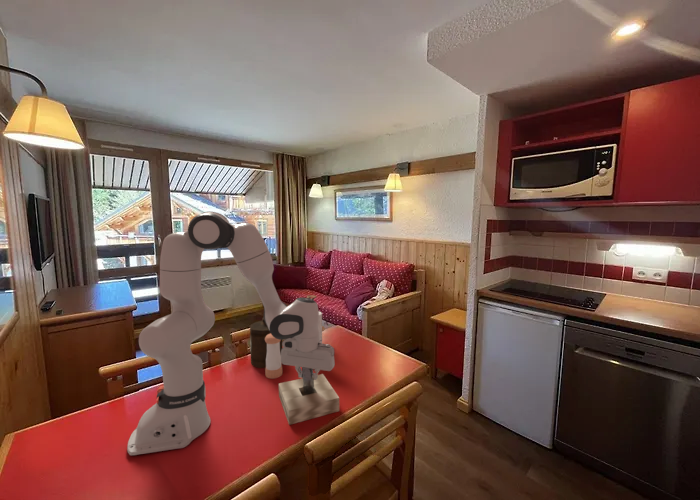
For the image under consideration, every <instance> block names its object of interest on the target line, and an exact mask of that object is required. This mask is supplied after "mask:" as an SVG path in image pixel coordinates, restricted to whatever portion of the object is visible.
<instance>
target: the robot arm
mask: <svg viewBox="0 0 700 500" xmlns="http://www.w3.org/2000/svg"><path fill="white" fill-rule="evenodd" d="M216 249H228V250H229V251H230V253H231V255H232V257H233V259H234V262H235V264H236V266H237V267H238V269H239V272H240V273H241V274H242V275H243V277H244V279H245V280H246V281H248V282H249V283H250V284H252V286H253V287H254V288H255V289H256V292H257V294H258V297H259V299H260V300H261V303H262V305H263V317H264V321H265V323H266V325H267V326H268V328H269V330H270V333H271V334H272V336H273V337H275V338H276V339H280V340H282V347H283V348H282V350H281V365H285V366H291V367H292V366H293V367H294V369H295V371H296V372H297V375H298V376H297V377H298V378H299V379H302V378H303V376H302V367H305V368H311V369H313V370H314V372H313V375H312V379H313V380H316V379H317V377H318V375H319V372H321V371H325V372H326V371H327V372H331V371H332V370H333V369H334V368H335V365H336V364H335V347H333V346H332V344H329V343H323V342H322V343H319V330H318V324H319V312H320V310H319V305H318V303H317V301H316V300H315V299H314V300H313V299H311V298H307V297H303V296H302V297H297V298H296V299H295V300H294V301H293V302H292V303H290V304H289V305H287V304H286V303H284V302H283V301H282V300H281V298H280V296H279V294H278V292H277V289H276V287H275V284H274V281H273V273H274V271H275V268H274V262H273V258H272V255H271V252H270V250H269V247H268V246H267V244H266V242H265V239H264V237H263V236H262V234H261V233H260V232H259V230H258V228H257V227H256V226H255V225H254V224H252V223H249V222H242V223H238V224H231V223H230V222H229V220H228V218H227V217H226V216H224V215H223V214H221V213H219V212H215V211H205V212H201V213H199V214H197V215H195V216H193V218H191V220H190V222H189V223H188V226H187V231H177V232H173V233H169V234H167V236H166V237H164V239H163V242H162V245H161V250H160V251H161V252H160V259H159V292H160V295H161V296H162V298H164V299H166V300H167V301H169V302H170V304H171V307H172V312H171V313H170V314H167V315H165V316H162V317H160V318H157V319H156V320H154V321H153V322H151V323H150V324H148V325H147V326H146V327H144V328H143V329H142V330H141V331H140V333H139V335H138V345H139V349H140V350H141V352H142V353H143V354H144V355H146V356H148V357H149V358H151V359H155V360H156V361H157V363H158V364H159V366H160V368H161V371H162V372H161V373H162V381H163V382H162V383H163V385H160V386H159V387H158V388H157V390H156V403H155V404H153V405H152V406H151V407H149V408H148V409H147V410H146V411H145V412H144V413H143V414H142V415H141V417H140V419H139V420H138V423H137V426H136V428H135V429H134V430H133V431H132V432H131V435H130V437H129V439H128V441H127V453H128V455H129V456H137V455H143V454H150V453H157V452H162V451H163V452H164V451H169V450H178V449H183V448H185V447H188V445H190V444H191V442H193V440H195V439H196V438H198V437H199V436H201V435H202V434H203V433H205V432H206V431H207V430H208V428H209V426H210V425H211V417H210V415H209V413H208V409H207V405H206V396H207V395H206V394H207V393H206V392H207V391H206V383H205V380H204V375H203V374H204V373H203V361H202V359H201V358H202V357H200V356H198V355H197V354H193V352H192V349H191V345H192V343H193V342H194V341H197V340H198V339H200V338H201V337H203V336H204V335H206V334H207V332H210V331H209V330H211V328H212V327H214V324H215V321H216V316H215V313H214V310H213V309H212V308H211V307H209V306H208V305H207V304H206V302H205V299H204V296H203V293H202V292H203V291H202V254H203V252H204V250H216Z"/></svg>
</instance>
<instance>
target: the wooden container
mask: <svg viewBox="0 0 700 500" xmlns="http://www.w3.org/2000/svg"><path fill="white" fill-rule="evenodd" d="M249 332H250V333H249V341H250V342H249V343H250V344H249V346H250V364H251V366H252V367H255V368H258V369H265V368H266V355H267V343H266V342H265V337H266V336H267V335H268V334H271V333H270V330H269V328H268V326H267V325H266V323H265V321H264V316H263V317H262V320H259V321H255V322H253V323H252V324H250V325H249ZM282 342H283V340H281V341H280V354H281V350H282V348H283V346H282Z"/></svg>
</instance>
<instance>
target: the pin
mask: <svg viewBox="0 0 700 500" xmlns="http://www.w3.org/2000/svg"><path fill="white" fill-rule="evenodd" d="M301 370H302V376H303V391H304V393H305V394H312V393H313V392H314V380H313V379H312V375H313V373H314V369H311V368H305V367H301Z"/></svg>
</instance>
